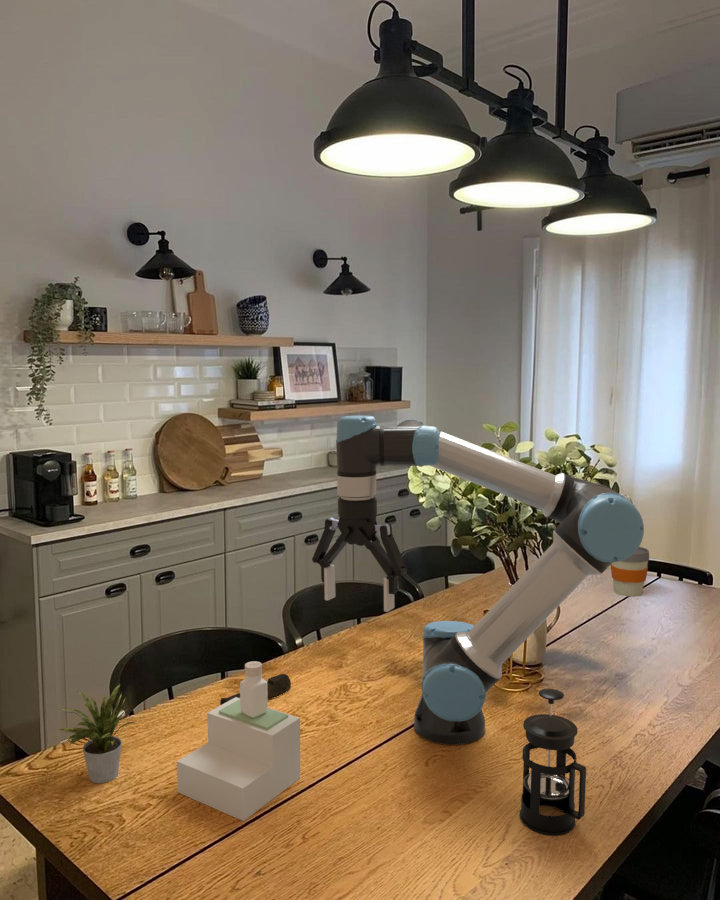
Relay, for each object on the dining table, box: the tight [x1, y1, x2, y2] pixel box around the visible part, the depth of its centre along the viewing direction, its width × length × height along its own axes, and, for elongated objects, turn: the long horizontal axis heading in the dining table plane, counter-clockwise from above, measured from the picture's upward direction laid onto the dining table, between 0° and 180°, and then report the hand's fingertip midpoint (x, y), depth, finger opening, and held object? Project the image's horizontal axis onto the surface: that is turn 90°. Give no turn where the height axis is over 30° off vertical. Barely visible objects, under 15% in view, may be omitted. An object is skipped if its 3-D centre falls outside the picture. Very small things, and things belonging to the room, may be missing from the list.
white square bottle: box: [239, 660, 269, 718], centre depth 141 cm, size 4×4×10 cm
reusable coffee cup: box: [610, 546, 650, 598], centre depth 255 cm, size 13×13×15 cm
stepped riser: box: [176, 697, 301, 822], centre depth 139 cm, size 16×16×12 cm
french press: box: [519, 687, 587, 837], centre depth 128 cm, size 12×9×23 cm
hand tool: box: [219, 673, 292, 706], centre depth 173 cm, size 19×4×5 cm, turn 132°
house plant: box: [56, 683, 136, 784], centre depth 143 cm, size 14×14×16 cm
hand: (358, 604), depth 146 cm, fingers open, 13 cm apart
